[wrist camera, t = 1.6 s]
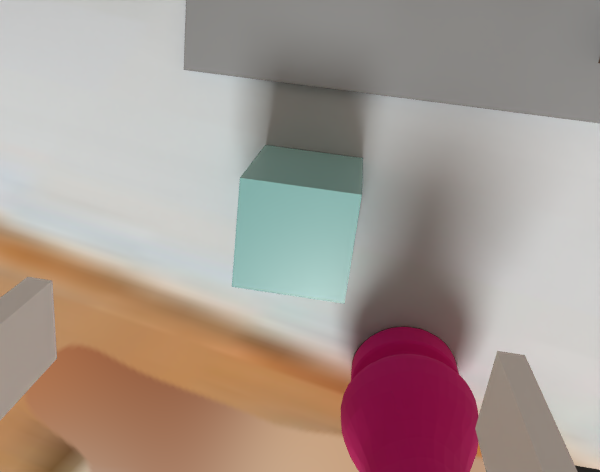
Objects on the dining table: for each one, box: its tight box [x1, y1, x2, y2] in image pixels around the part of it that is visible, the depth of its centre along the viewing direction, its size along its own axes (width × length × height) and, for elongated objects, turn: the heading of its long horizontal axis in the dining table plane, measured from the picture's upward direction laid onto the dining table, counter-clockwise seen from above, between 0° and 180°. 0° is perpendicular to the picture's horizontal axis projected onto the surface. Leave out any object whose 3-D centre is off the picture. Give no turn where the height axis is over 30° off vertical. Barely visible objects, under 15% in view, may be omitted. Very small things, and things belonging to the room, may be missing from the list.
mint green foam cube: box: [232, 145, 363, 304], centre depth 28 cm, size 5×5×7 cm
